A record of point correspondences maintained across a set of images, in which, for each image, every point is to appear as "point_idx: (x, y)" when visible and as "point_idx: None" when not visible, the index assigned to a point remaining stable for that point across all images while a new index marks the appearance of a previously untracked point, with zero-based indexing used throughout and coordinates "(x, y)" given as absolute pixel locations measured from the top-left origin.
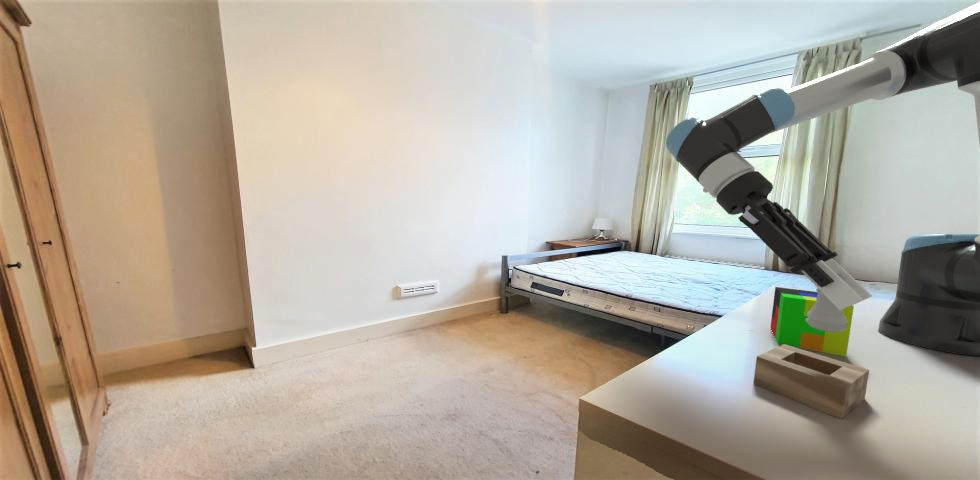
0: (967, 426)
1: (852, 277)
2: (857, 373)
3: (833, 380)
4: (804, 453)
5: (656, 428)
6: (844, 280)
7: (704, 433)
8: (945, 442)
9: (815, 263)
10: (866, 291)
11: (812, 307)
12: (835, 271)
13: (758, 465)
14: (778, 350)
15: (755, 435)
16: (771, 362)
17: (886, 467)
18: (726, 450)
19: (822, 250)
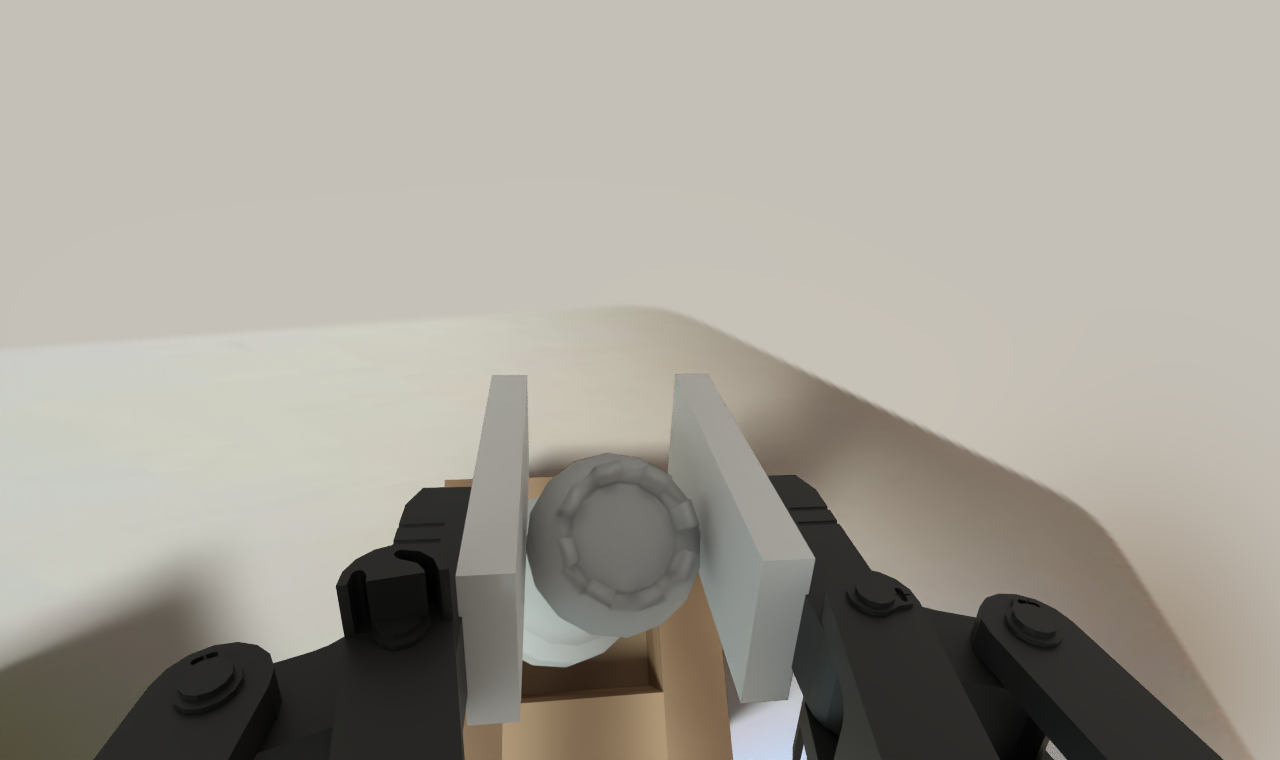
0: (401, 326)
1: (482, 446)
2: (532, 490)
3: None
4: (934, 484)
5: (1213, 710)
6: (587, 466)
7: (1103, 636)
8: (564, 342)
9: (818, 590)
10: (509, 390)
11: (585, 638)
12: (521, 536)
13: (1069, 513)
14: (557, 753)
15: (983, 570)
16: (724, 697)
17: (814, 386)
18: (1099, 572)
19: (425, 690)
